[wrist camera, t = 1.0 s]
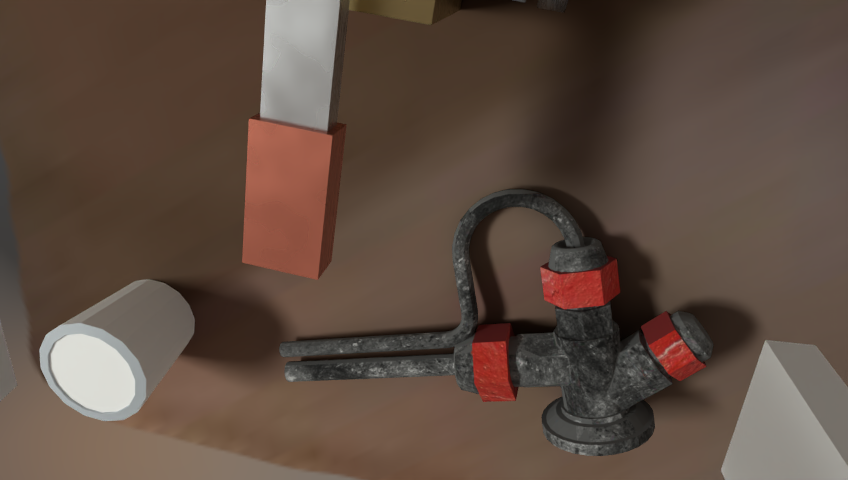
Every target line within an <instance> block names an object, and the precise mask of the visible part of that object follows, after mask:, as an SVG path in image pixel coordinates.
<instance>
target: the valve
mask: <svg viewBox="0 0 848 480" xmlns="http://www.w3.org/2000/svg"><path fill="white" fill-rule="evenodd" d="M507 207H526V208H530V209H534V210H536V211H538V212H540V213H543V214H544V215H545V216H547V217H548V218H549V219H551V220H552V221H553V222H554V223H555V224H556V226H557V227H558V228H559V229H560V231H561V233H562V235H563V237H564V239H565V240H561V241H559V242H557V243H555V244H554V245H553V246H552V248H551V254H550V259H549V262H548V263H546V264H544V265H543V266H541V267H540V269H541V277H542V284H543V292H544V299H545V300H546V301H548V302H550V303H552V304H554V305H556V307H555V311H556V319H557V326H556V328H555V329H554V332H553V333H534V334H517V336H515V335H514V332H513V329H512V326H511V323H503V324H487V325H478V328H477V331H476V333H474V331H475V328H476V325H477V322H478V309H477V302H476V296H475V290H474V284H473V277H472V271H471V265H470V258H469V245H470V240H471V236H472V234H473V232H474V230H475V228H476V226H477V225H478V224H479V223H480V221H481V220H482V219H484V218H485V217H486V216H487V215H489V214H490V213H492V212H494V211H496V210H499V209H502V208H507ZM452 254H453V265H454V271H455V277H456V283H457V289H458V295H459V302H460V308H461V314H462V320H461V323H460V325H459V326H458V327H457V328H455V329H454V330H452V331H447V332H432V333H416V334H400V335H385V336H369V337H353V338H337V339H322V340H306V341H290V342H282V343H281V344H280V347H279V351H280V355H281V356H282V357H295V356H313V355H331V354H348V353H366V352H384V351H402V350H420V349H438V348H450V347H455V348H454V353H451V354H431V355H411V356H391V357H371V358H351V359H331V360H311V361H291V362H287V363H286V365H285V377H286V380H287V381H288V382H295V381H320V380H345V379H369V378H394V377H419V376H444V375H455V377H456V381H457V384H458V386H459V387H460V388H461V390H465V391H469V392H473V393H476V394H480V396H481V398H482V400H483V402H487V401H516V397H517V392H518V387H545V386H560V387H561V389H562V397H560V398H558V399H556V400H554V401H553V402H552V403H550V404H549V405H548V406H547V407H546V408H545V410H544V411H543V414H542V426H543V433H544V435H545V436H546V438H547V440H549V441H550V442H551V443H552V444H553V445H555V446H556V447H558V448H560V449H562V450H565V451H568V452H571V453H575V454H581V455H588V456H604V455H614V454H619V453H623V452H627V451H630V450H632V449H634V448H637V447H639V446H640V445H642V444H643V443H645V442H646V441H648V439H649V438H650V437H651V436H652V434H653V432H654V428H655V424H654V415H653V410H652V408H651V407H650V405H649V404H648V403H646V402H645V401H644V399H645V398H647V397H649V396H651V395H653V394H655V393H657V392H658V391H660V390H662V389H664V388H666V387H668V386H670V385H671V384H672V379H671V376H672V377H674V378H676V379H677V380H679V381H681V380H683V379H685V378H687V377H688V376H690V375H692V374H694V373H696V372H697V371H699V370H701V369H703V368H705V367H706V364H705V362H704V361H705V360H707V359H709V358H710V357H711V354H712V349H713V342H712V340H711V338H710V337H709V335H708V334H707V332H706V331H705V329H704V328H703V326H702V325H701V324H700V322H699V321H698V320H697V319H696V317H695V316H694V315H693V314H691V313H686V312H682V311H677V312H676V313H674V314H672V315H671V314H669V313H668V312H667V311H665V312H664V313H662V314H660V315H659V316H657V317H655V318H654V319H652V320H650V321H649V322H647V323H645V324H644V325H642V326H641V328H642V331H643V333H644V335H643V334H642V333H641V332H640V331H639V330H638V331H636V332H635V333H633V334H632V335H630V336H628V337H627V338H625V339H624V340H622V341H621V342H620V334H619V326H618V324H617V323H616V322H614V321H613V320H612V312H611V303H610V300H611V299H613V298H614V297H615V296H616V295H618V294H619V293H620V285H619V276H618V266H617V258H613V257H610V256H607V255H606V253H605V251H604V249H603V246H602V244H601V242H600V241H599V240H597V239H595V238H591V237H582V233H581V231H580V229H579V227H578V225H577V223H576V221H575V219H574V218H573V217H572V216H571V214H570V213H569V212H568V211H567V210H566V208H565V207H563V206H562V205H561V204H559V203H558V202H557V201H555V200H554V199H553V198H550V197H548V196H546V195H544V194H542V193H539V192H536V191H531V190H526V189H507V190H503V191H499V192H495V193H492V194H490V195H488V196H486V197H484V198H482V199H480V200H479V201H478V202H477V203H476V204H474V205H473V206H472V207H471V208H470V209H469V210H468V211H467V212H466V214H465V215H464V216H463V218H462V219H461V220H460V222H459V225H458V227H457V229H456V232H455V234H454V240H453V245H452Z"/></svg>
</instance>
